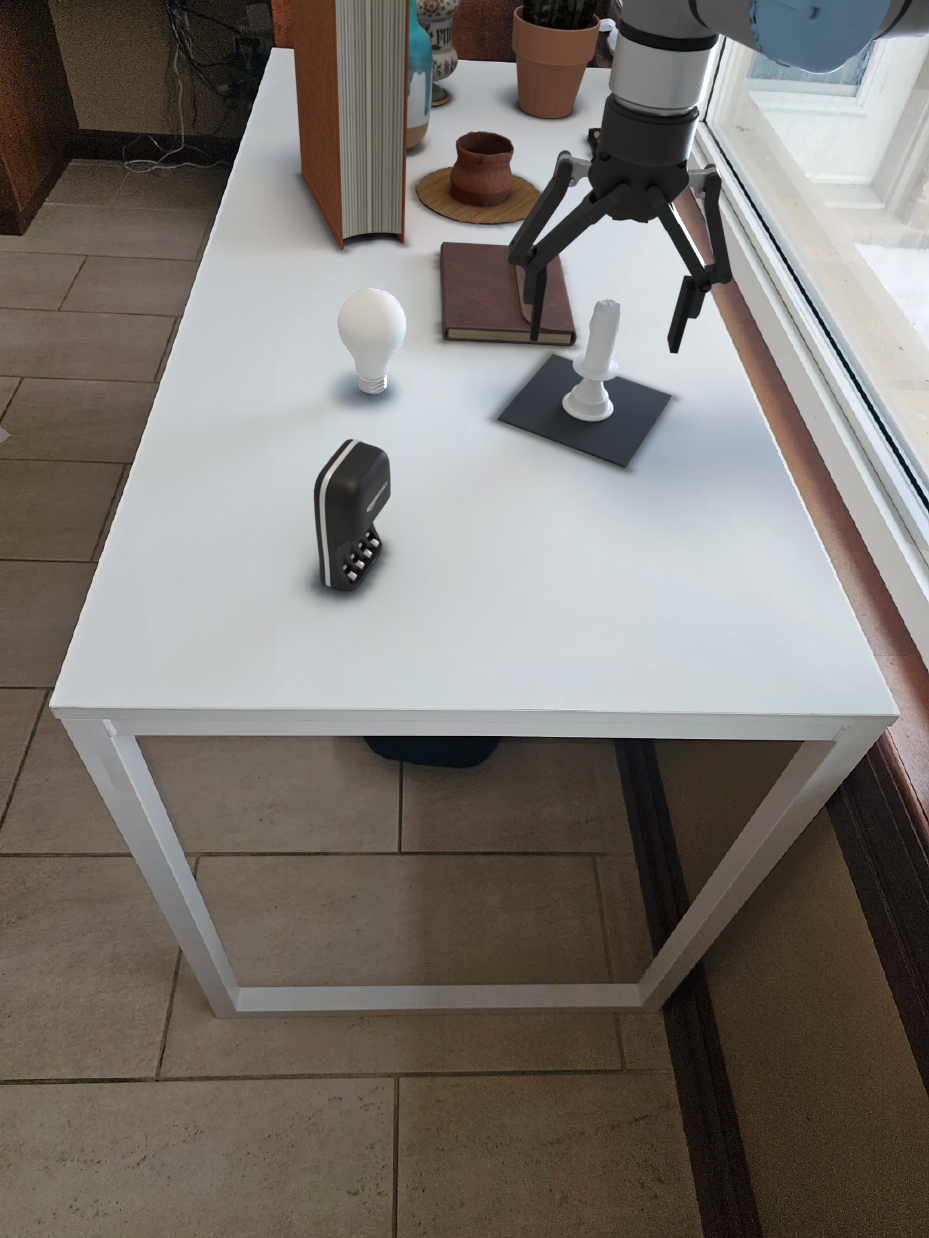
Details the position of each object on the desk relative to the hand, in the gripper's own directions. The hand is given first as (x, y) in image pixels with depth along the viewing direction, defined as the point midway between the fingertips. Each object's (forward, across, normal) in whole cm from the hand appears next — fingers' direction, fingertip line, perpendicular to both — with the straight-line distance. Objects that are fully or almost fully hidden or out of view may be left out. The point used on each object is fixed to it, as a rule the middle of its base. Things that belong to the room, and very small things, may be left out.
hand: (603, 340), depth 84 cm
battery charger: (+8, +21, +25) cm, 34 cm away
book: (+8, +30, -41) cm, 52 cm away
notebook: (+8, +9, -21) cm, 24 cm away
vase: (+8, +26, -62) cm, 68 cm away
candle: (+8, 0, 0) cm, 8 cm away
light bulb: (+8, +22, 0) cm, 24 cm away
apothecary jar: (+7, +24, -83) cm, 87 cm away
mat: (+8, 0, 0) cm, 8 cm away
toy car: (+8, -6, -69) cm, 70 cm away
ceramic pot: (+8, +13, -48) cm, 51 cm away
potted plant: (+8, +3, -83) cm, 84 cm away
